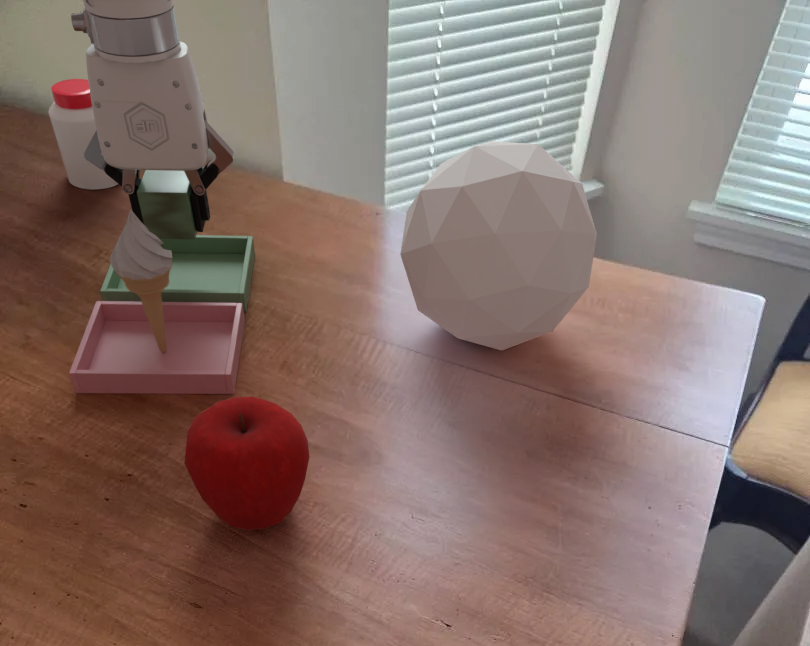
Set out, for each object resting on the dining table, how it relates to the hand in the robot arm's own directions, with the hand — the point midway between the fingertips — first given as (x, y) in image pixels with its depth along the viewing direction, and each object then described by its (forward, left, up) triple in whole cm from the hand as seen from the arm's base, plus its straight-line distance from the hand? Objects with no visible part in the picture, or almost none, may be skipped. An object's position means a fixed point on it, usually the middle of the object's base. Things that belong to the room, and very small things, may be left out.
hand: (174, 223), depth 81 cm
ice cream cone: (0, -14, -7) cm, 15 cm away
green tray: (0, 0, -7) cm, 7 cm away
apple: (+11, -35, -7) cm, 38 cm away
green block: (0, 0, 0) cm, 0 cm away
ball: (+34, -8, -7) cm, 36 cm away
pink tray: (0, -14, -7) cm, 16 cm away
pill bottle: (-15, +26, -7) cm, 30 cm away
